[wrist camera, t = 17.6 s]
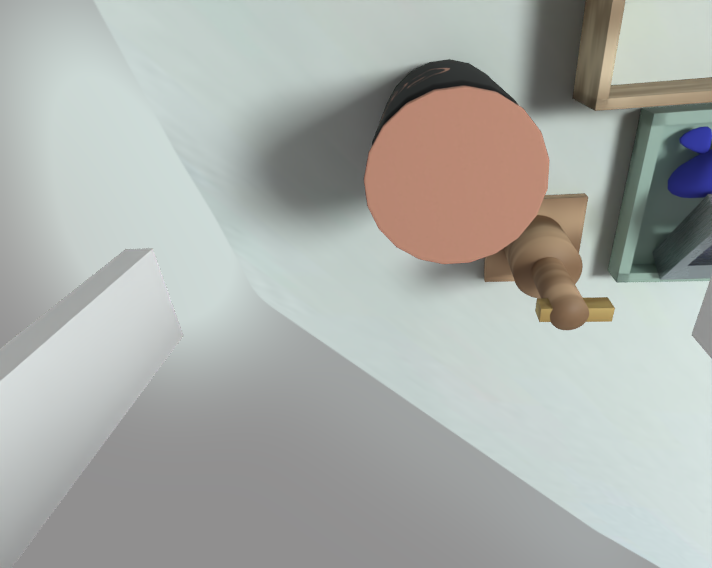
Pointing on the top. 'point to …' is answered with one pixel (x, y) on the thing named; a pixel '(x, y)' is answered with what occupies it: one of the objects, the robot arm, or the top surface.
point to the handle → (551, 264)
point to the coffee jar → (454, 165)
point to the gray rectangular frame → (688, 246)
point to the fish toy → (694, 166)
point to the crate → (599, 64)
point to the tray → (654, 190)
